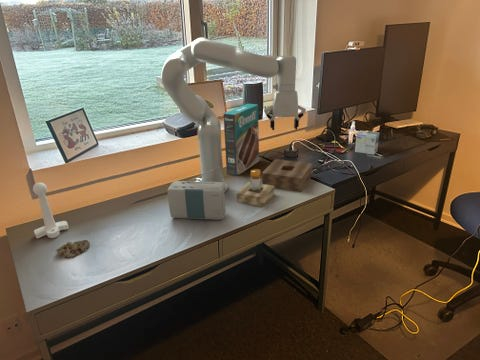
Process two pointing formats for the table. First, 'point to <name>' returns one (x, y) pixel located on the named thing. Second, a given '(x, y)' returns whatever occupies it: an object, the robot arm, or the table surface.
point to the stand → (255, 195)
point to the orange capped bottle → (255, 181)
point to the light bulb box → (367, 142)
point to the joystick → (47, 215)
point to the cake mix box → (241, 138)
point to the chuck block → (287, 175)
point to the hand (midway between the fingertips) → (284, 129)
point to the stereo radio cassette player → (197, 199)
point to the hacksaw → (326, 168)
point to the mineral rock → (73, 249)
